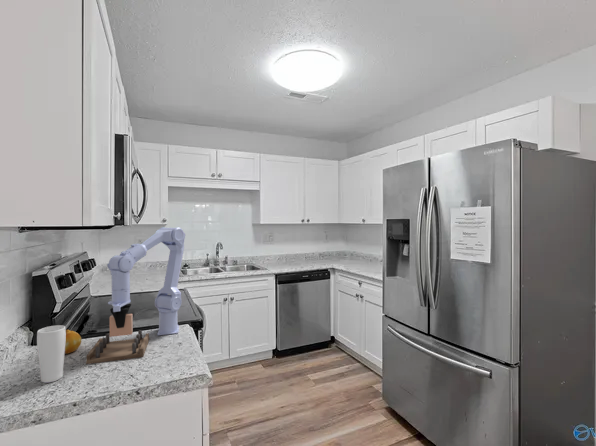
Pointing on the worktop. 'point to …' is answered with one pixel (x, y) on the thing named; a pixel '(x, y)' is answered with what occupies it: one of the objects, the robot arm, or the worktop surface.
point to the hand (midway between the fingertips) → (121, 326)
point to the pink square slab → (126, 329)
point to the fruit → (72, 341)
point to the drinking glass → (51, 352)
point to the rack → (117, 349)
